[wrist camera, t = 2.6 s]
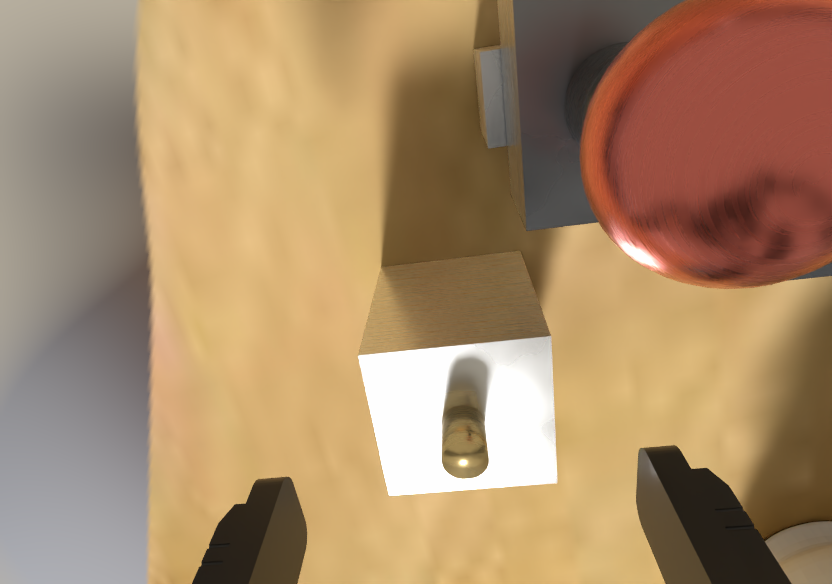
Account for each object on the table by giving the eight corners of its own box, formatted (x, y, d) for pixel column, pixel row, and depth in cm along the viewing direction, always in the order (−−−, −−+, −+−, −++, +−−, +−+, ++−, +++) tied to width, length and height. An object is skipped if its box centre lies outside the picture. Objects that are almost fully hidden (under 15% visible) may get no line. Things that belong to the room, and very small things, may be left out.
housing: (520, 250, 19) (563, 369, 12) (527, 367, 21) (568, 525, 14) (381, 266, 19) (349, 389, 13) (402, 379, 22) (384, 537, 15)
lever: (763, -55, 12) (1525, -266, 4) (739, 165, 14) (1181, 361, 6) (496, -11, 13) (609, -102, 4) (510, 195, 15) (604, 410, 6)
